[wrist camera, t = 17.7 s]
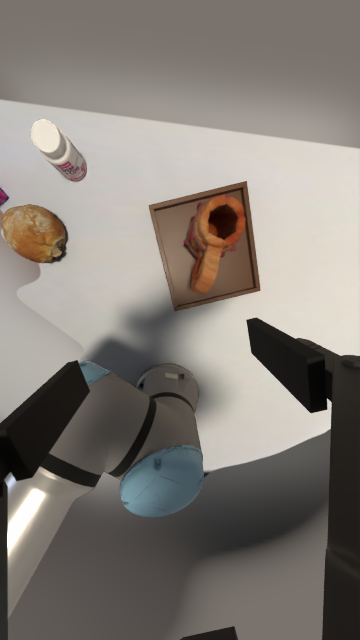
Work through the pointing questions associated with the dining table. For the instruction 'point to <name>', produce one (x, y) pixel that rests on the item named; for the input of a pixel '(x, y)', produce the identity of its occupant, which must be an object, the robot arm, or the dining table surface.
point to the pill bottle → (58, 149)
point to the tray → (178, 261)
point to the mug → (213, 237)
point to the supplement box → (2, 197)
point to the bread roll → (34, 233)
